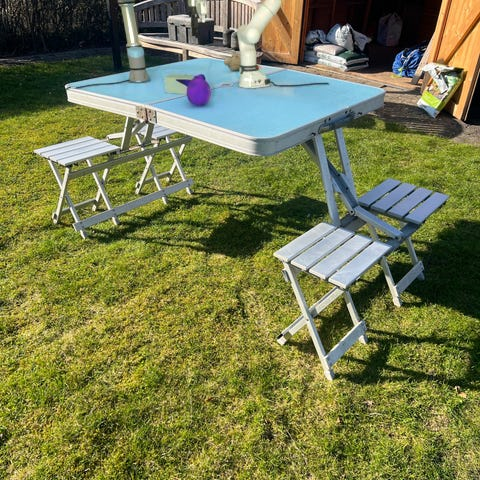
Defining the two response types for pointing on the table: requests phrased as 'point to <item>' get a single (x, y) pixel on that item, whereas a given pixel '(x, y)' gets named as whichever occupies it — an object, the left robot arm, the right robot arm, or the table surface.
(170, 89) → the cabinet
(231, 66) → the teapot
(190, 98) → the toy
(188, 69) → the table surface
